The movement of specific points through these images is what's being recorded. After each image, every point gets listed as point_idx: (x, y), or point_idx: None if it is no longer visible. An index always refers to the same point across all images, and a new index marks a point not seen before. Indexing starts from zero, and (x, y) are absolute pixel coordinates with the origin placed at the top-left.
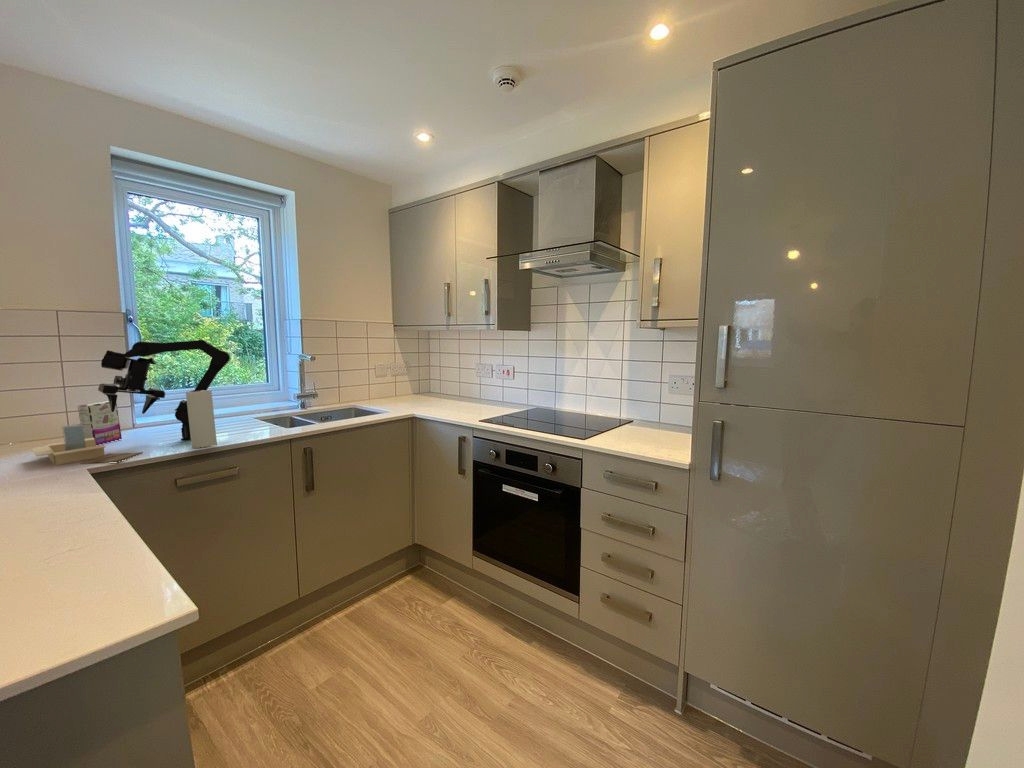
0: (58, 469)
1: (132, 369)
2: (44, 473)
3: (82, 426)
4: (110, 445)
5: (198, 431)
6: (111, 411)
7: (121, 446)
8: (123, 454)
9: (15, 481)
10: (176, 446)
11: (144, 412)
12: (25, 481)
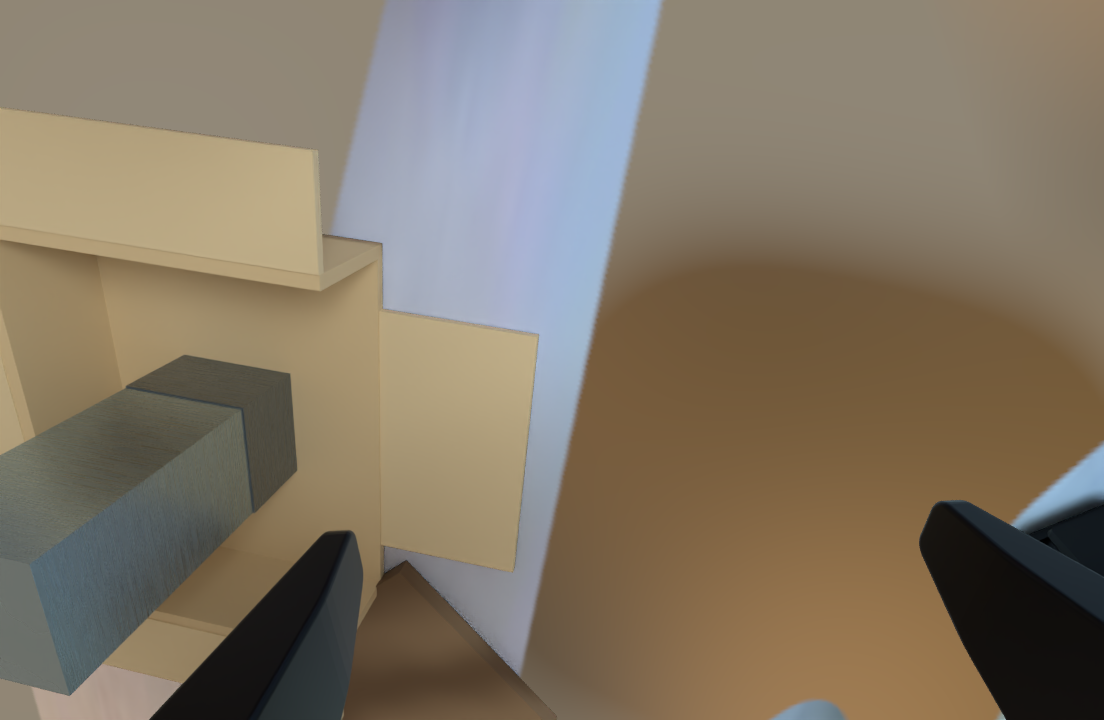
0: None
1: None
2: None
3: (77, 685)
4: (533, 52)
5: None
6: (328, 539)
7: (578, 256)
8: (458, 685)
9: None
10: (798, 715)
11: (952, 583)
12: (81, 707)
